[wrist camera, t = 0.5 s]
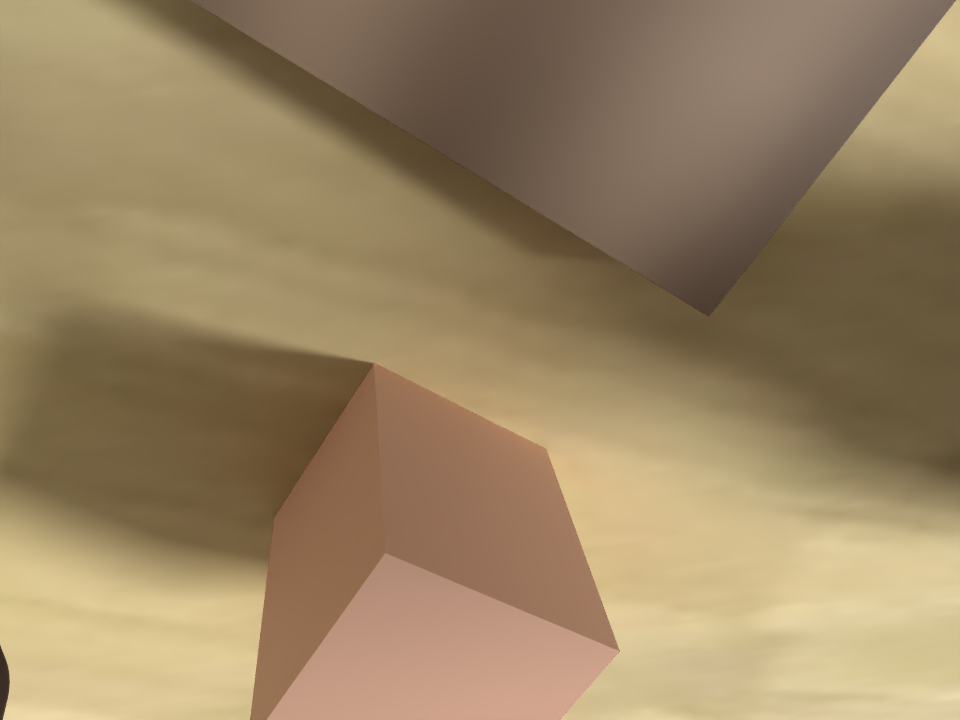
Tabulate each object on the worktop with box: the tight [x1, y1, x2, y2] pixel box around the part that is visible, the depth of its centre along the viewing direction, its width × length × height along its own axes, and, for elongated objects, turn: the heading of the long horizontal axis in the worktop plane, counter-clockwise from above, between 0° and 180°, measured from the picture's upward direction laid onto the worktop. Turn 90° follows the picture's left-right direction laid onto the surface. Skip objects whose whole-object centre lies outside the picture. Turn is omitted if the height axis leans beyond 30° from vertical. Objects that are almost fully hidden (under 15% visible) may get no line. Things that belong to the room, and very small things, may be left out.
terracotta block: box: [250, 363, 620, 720], centre depth 20 cm, size 5×5×7 cm
